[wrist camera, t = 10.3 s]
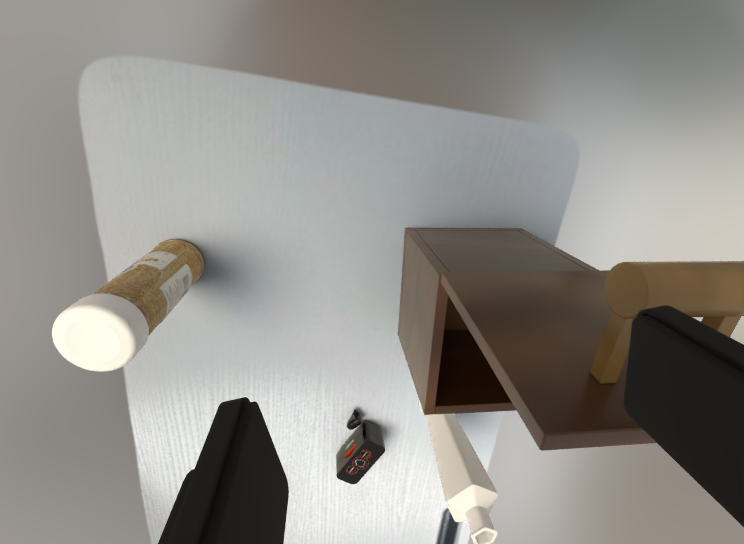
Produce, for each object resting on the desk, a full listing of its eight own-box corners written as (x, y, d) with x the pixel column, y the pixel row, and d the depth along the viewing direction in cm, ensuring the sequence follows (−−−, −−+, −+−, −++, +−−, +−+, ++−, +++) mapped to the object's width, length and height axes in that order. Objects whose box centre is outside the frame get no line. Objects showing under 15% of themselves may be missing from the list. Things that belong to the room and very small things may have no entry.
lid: (833, 432, 14) (942, 296, 11) (540, 451, 12) (590, 303, 10) (607, 280, 25) (637, 195, 22) (440, 282, 24) (452, 192, 21)
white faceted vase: (431, 426, 44) (477, 564, 31) (409, 406, 43) (447, 541, 29) (462, 405, 44) (523, 535, 30) (440, 383, 42) (494, 510, 28)
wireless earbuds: (387, 421, 43) (391, 443, 40) (353, 461, 45) (355, 485, 42) (354, 405, 42) (356, 427, 39) (320, 447, 44) (320, 471, 41)
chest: (502, 331, 40) (566, 408, 29) (397, 334, 39) (424, 415, 28) (521, 228, 36) (604, 273, 25) (405, 227, 35) (439, 274, 24)
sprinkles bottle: (168, 228, 33) (69, 292, 20) (215, 257, 34) (149, 334, 22) (143, 266, 34) (33, 350, 21) (189, 294, 35) (112, 387, 23)
